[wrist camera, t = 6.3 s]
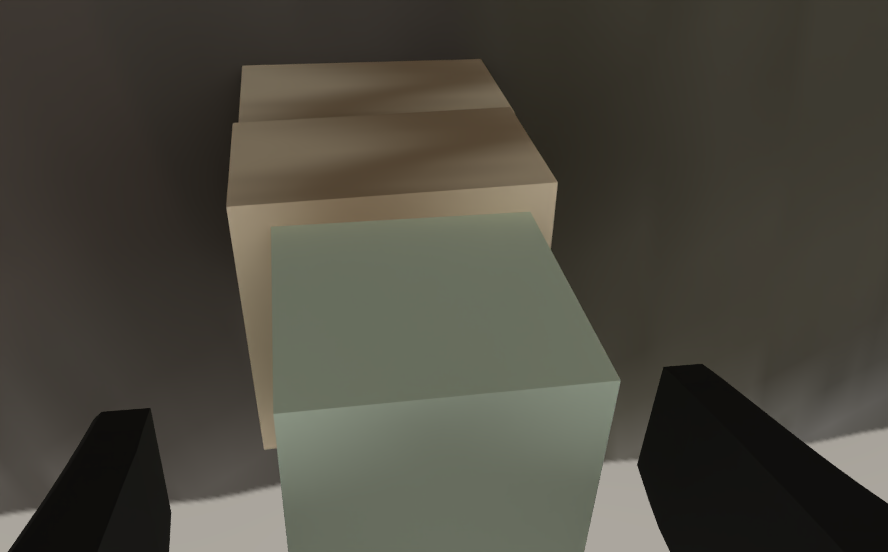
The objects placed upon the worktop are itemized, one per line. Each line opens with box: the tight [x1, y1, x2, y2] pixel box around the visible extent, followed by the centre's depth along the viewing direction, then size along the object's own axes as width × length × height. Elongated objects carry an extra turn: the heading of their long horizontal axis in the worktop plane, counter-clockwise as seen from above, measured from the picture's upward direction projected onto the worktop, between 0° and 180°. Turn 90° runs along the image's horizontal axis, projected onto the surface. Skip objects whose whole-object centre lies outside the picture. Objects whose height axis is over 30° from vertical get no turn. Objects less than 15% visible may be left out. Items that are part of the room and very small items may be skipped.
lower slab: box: [238, 59, 515, 123], centre depth 17 cm, size 5×5×3 cm
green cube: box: [271, 212, 621, 552], centre depth 12 cm, size 4×4×4 cm
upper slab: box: [226, 107, 558, 449], centre depth 15 cm, size 5×5×3 cm
